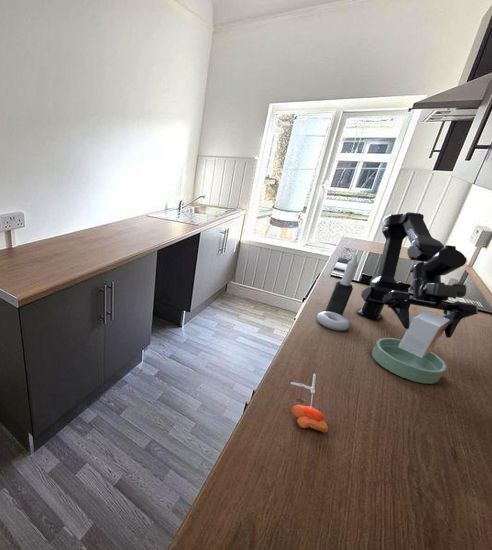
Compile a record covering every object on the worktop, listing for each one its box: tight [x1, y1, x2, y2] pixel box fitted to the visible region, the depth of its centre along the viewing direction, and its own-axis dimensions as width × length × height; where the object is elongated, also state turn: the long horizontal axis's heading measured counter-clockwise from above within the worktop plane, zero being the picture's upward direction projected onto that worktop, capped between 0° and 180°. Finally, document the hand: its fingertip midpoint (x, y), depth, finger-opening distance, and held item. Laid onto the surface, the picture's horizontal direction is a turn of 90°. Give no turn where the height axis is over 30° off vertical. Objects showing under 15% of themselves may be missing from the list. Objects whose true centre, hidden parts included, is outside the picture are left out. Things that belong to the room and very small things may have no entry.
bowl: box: [371, 337, 447, 385], centre depth 87 cm, size 15×15×4 cm
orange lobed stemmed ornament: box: [290, 373, 329, 433], centre depth 66 cm, size 6×10×12 cm, turn 39°
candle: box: [325, 253, 359, 316], centre depth 109 cm, size 5×5×25 cm
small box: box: [398, 310, 450, 358], centre depth 83 cm, size 8×6×10 cm
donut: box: [316, 310, 350, 332], centre depth 107 cm, size 10×4×10 cm
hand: (427, 332), depth 81 cm, fingers closed on small box, 9 cm apart
